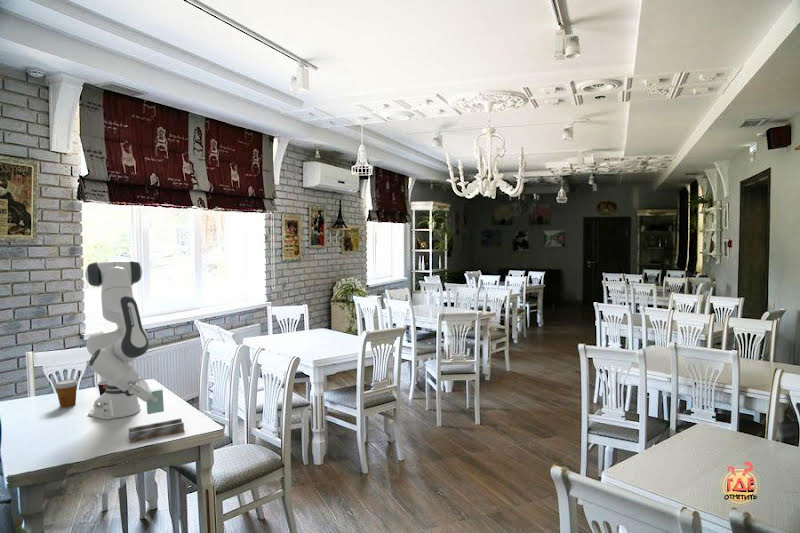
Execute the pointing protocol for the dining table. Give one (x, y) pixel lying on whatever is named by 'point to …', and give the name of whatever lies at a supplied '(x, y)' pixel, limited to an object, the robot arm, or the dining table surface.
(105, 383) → the coffee mug
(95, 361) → the robot arm
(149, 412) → the green rectangular box
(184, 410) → the dining table surface
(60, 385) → the disposable coffee cup
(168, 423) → the rail
